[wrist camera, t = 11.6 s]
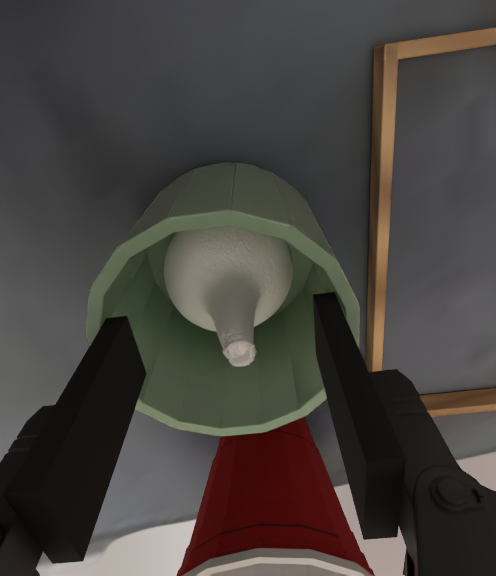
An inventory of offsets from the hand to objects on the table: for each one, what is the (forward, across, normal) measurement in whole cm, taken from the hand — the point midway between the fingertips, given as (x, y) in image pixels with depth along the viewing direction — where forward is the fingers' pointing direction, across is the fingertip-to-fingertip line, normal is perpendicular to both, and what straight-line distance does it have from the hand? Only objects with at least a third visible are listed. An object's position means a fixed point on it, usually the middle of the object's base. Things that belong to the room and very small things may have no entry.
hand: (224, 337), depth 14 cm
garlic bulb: (+7, 0, 0) cm, 7 cm away
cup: (+8, 0, 0) cm, 8 cm away
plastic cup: (+8, 0, +13) cm, 15 cm away
